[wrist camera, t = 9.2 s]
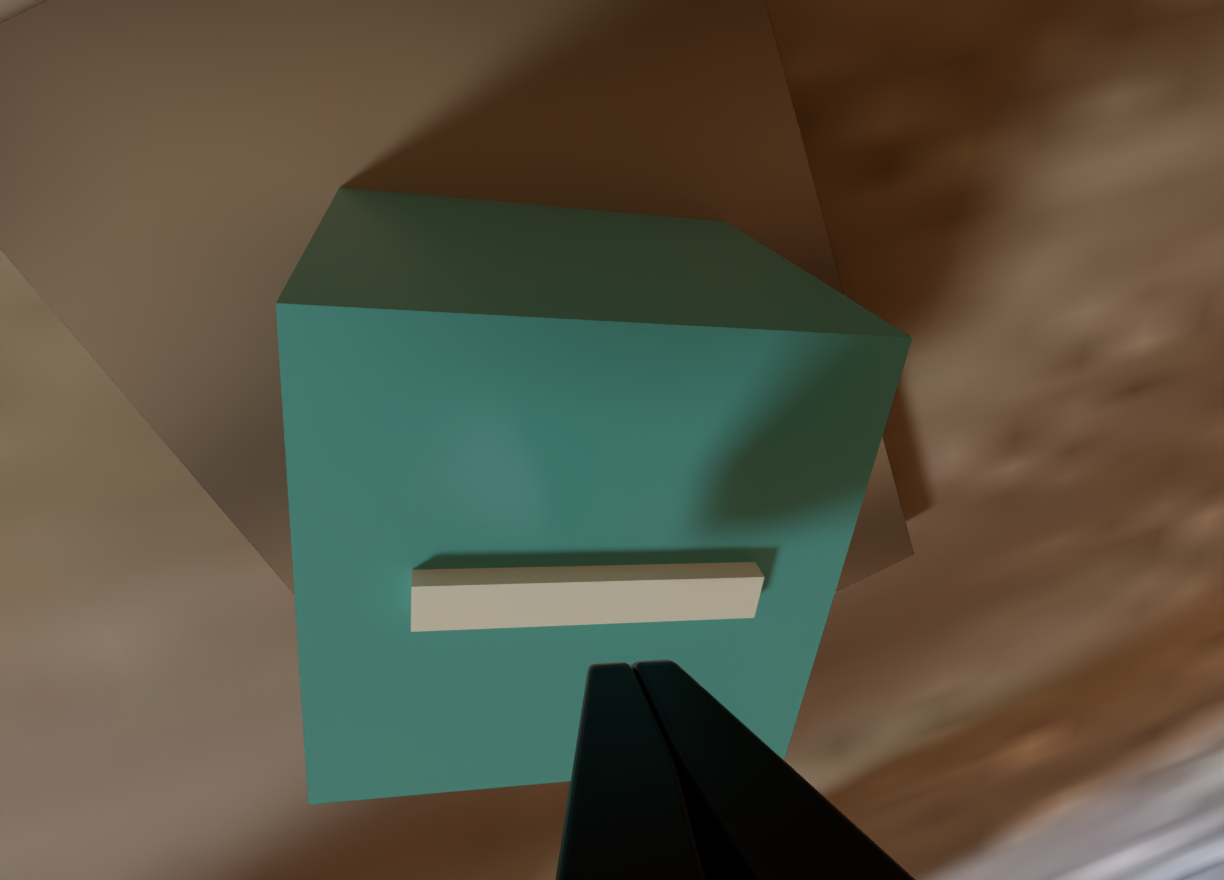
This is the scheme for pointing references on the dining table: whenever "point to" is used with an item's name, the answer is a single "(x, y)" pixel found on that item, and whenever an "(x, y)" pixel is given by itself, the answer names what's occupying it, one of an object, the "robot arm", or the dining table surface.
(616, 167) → the keyed post base
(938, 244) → the dining table surface
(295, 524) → the teal drawer cube
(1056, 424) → the dining table surface
